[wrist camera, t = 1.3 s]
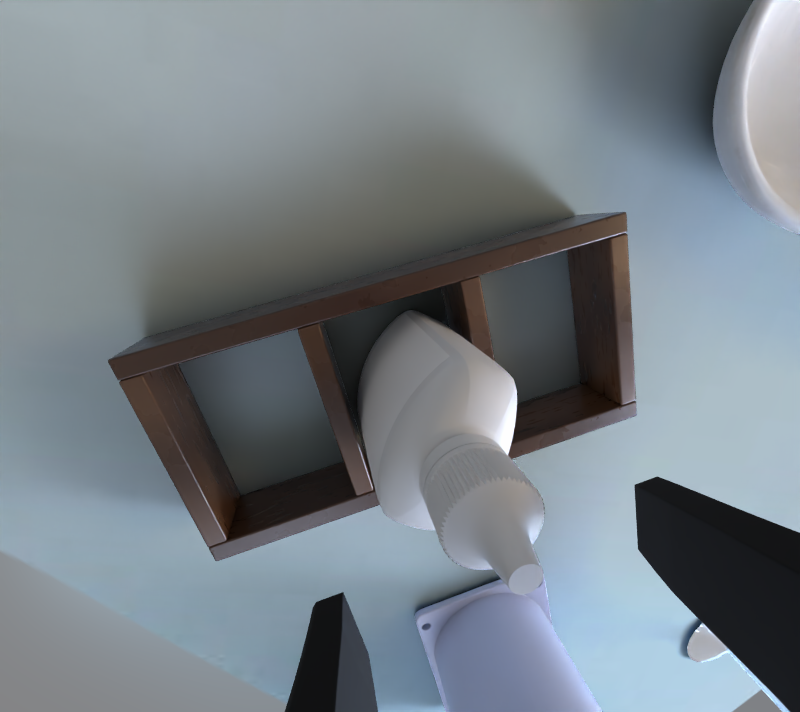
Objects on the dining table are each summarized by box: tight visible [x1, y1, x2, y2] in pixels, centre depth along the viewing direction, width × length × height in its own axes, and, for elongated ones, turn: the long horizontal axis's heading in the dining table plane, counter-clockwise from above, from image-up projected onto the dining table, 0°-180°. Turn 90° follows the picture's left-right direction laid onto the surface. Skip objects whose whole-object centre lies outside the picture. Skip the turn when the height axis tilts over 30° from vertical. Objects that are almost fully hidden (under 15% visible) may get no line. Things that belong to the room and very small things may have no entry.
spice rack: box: [108, 212, 637, 561], centre depth 17 cm, size 9×19×3 cm, turn 104°
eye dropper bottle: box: [357, 310, 545, 595], centre depth 13 cm, size 4×6×12 cm
